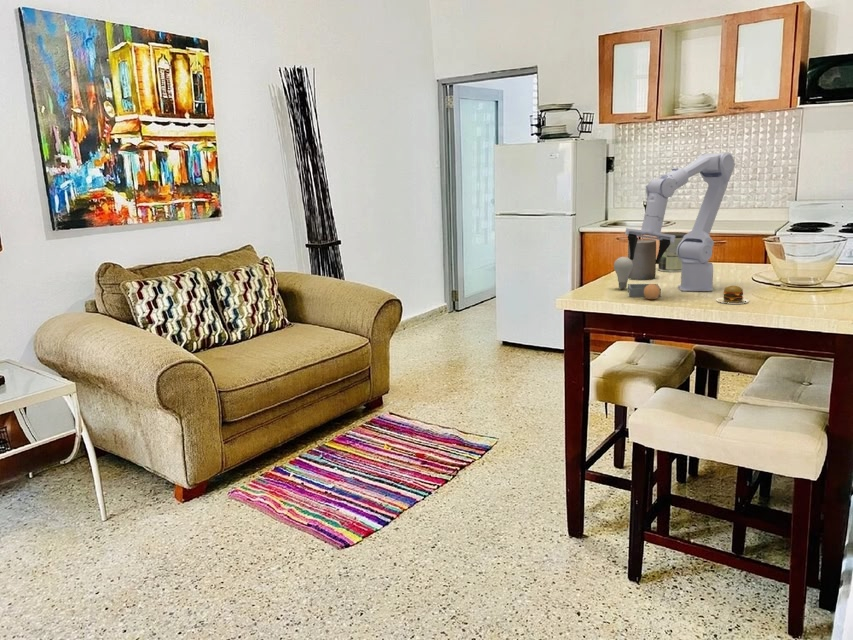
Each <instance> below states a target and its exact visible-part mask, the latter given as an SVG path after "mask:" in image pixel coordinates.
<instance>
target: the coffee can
mask: <svg viewBox="0 0 853 640" xmlns="http://www.w3.org/2000/svg"><path fill="white" fill-rule="evenodd" d="M663 233H664V234H669V235H675V236H676V237H675V241H674V242H670V245H669V247H668V248H667V249H666V251H665V252H664V254H663V255H662V257H661V259H660V261H659V264H657V265H658V268H657V270H658V271H659V272H663V273H681V272H682V262H680V259H679V258H678V256H677V247H678V245H679V243H680V242H681V241H682V239H683V236H684V235H686V234H687V233H688V232H673V231H672V232H671V231H670V232H669V231H668V232H663ZM658 241H659V242H658V247H659V246H660V240H658Z"/></svg>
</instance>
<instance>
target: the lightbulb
mask: <svg viewBox="0 0 853 640" xmlns="http://www.w3.org/2000/svg"><path fill="white" fill-rule="evenodd" d="M632 268H633V263H632V261H631V260H630V259H629V258H628V256H619V257H618V258H617V259H615V261H614V263H613V269H614V272H615V274H616V276H617V281H618V288H619V289H621V290H622V289H623V290H625V289H627V288H628V281H629V278H628V276H629V274H630V272H631V271H632Z"/></svg>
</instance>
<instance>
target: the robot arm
mask: <svg viewBox="0 0 853 640" xmlns="http://www.w3.org/2000/svg"><path fill="white" fill-rule="evenodd" d="M735 166H736V164H735V160H734V157H733V155H732V153H731V152H727V151H726V152H721V153H720V152H719V153H717V152H715V153H701V154H700V155H698V156H696V158H695V159H694V160H692V162H690V163H688V164H686V166H684V167H679V166H678V167H677V166H674V167H672V168H671V170H670V171H669V172H667V173H663V174H662V175H661V176H660V177H659V178H652V179H651V180H650V181H649V182H648V183H647V185H646V186H645V192H646V193H645V194H646V198H645V199H646V206H645V211H644V212H645V213H644V216H643V221H642V225H641V229H635V228H625V233H624V235H626V236H627V239H628V240H627V242H628V241H629V246H630V260H633V258H634V253H635V248H636V244H637V241H638V239H639V238H643V239H653V240H656V241H657V240H658V241H659V240H660V246H659V245H658V252H657V254H656V265H659V261H660V259H661V257H662V255H663V254H664V252H665V251H666V249H667V248H668V247H669V245H670V242H674V241H675V237H676V236H675V235H669V234H664V233H665V232H662V228H663V222H664V219H665V215H666V209H667V205H668V201H669V198H671V197H673V195H674V194H675V191H676V190H678V189H679V188H681V187H684V185H686V184H688V182H689V178H691V177H693V176H695V175H697V174H700V176H701V178H702V179H703V181H704V182H705V183H707V184H708V186H707V190H706V192H705V195H704V196H703V200H702V203H701V204H700V208H699V211H698V213H697V215H696V219H695V221H694V225H693V227H692V229H691V230H690V231H689V232H686V233H687V234H686V235H684V236H683V239H682V241H681V242H680V243H679V245H678V247H677V256H678V258H679V259H680V262H682V272H680V273H681V275H680V285H677V288H678V289H679V290H680V291H681V292H713V290H714V289H713V286H714V285H713V283H714V281H713V280H714V264H713V262H710V260H711V258H712V255H713V248H714V245H715V242H714V240H713V238H712V237H711V236H710V233H711V230H712V228H713V226H714V223H715V220H716V218H717V216H718V212H719V210H720V207H721V204H722V201H723V198H724V197H725V193H726V191H727V188H728V184H729V182H730V180H731V178H732V174H733V172H734V169H735Z"/></svg>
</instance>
